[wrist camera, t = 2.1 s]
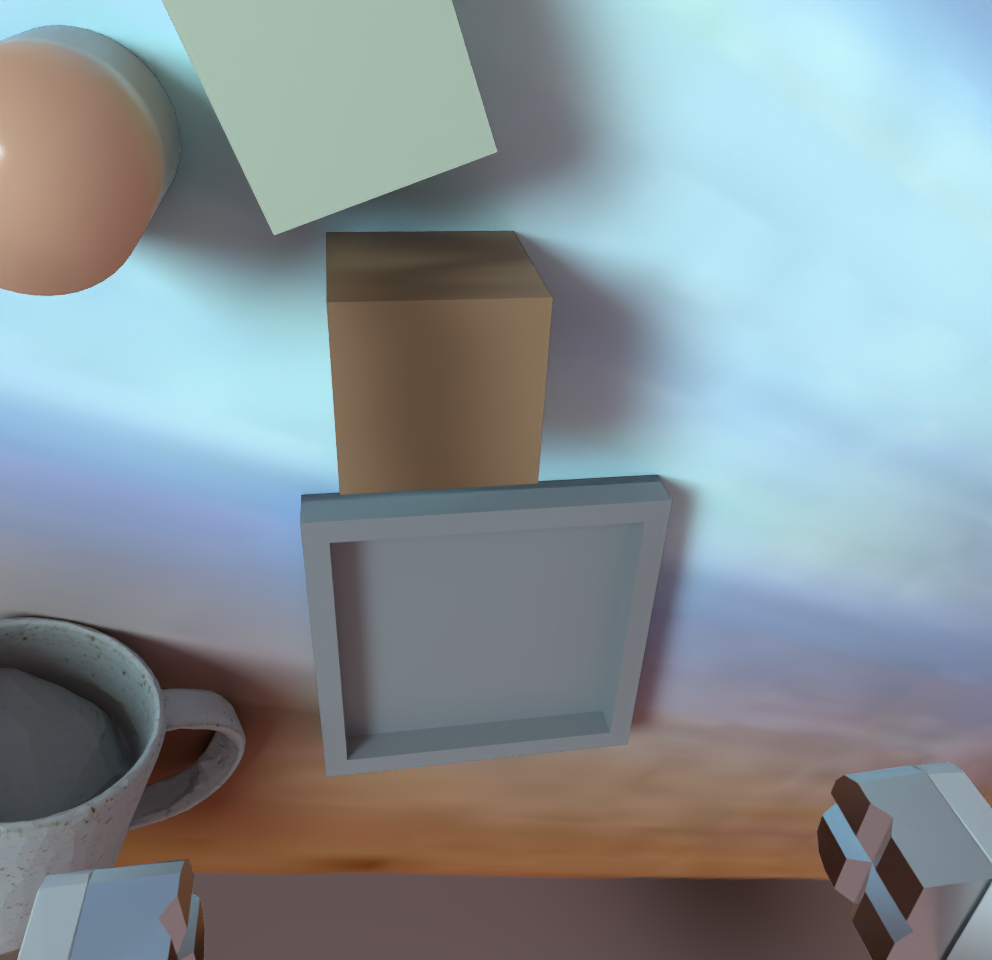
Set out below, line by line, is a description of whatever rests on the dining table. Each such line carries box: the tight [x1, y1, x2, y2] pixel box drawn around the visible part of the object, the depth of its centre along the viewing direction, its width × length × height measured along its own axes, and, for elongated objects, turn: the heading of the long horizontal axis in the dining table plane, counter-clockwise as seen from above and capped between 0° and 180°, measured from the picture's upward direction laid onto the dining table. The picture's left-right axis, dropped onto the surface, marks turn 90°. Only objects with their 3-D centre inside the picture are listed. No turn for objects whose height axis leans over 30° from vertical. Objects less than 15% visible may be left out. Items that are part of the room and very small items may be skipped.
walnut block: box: [326, 231, 553, 495], centre depth 22 cm, size 5×5×5 cm
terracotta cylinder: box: [0, 25, 181, 296], centre depth 18 cm, size 4×4×5 cm
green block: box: [162, 0, 497, 235], centre depth 18 cm, size 5×5×4 cm
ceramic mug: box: [0, 617, 246, 955], centre depth 27 cm, size 11×8×8 cm
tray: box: [300, 475, 672, 777], centre depth 30 cm, size 12×12×2 cm
